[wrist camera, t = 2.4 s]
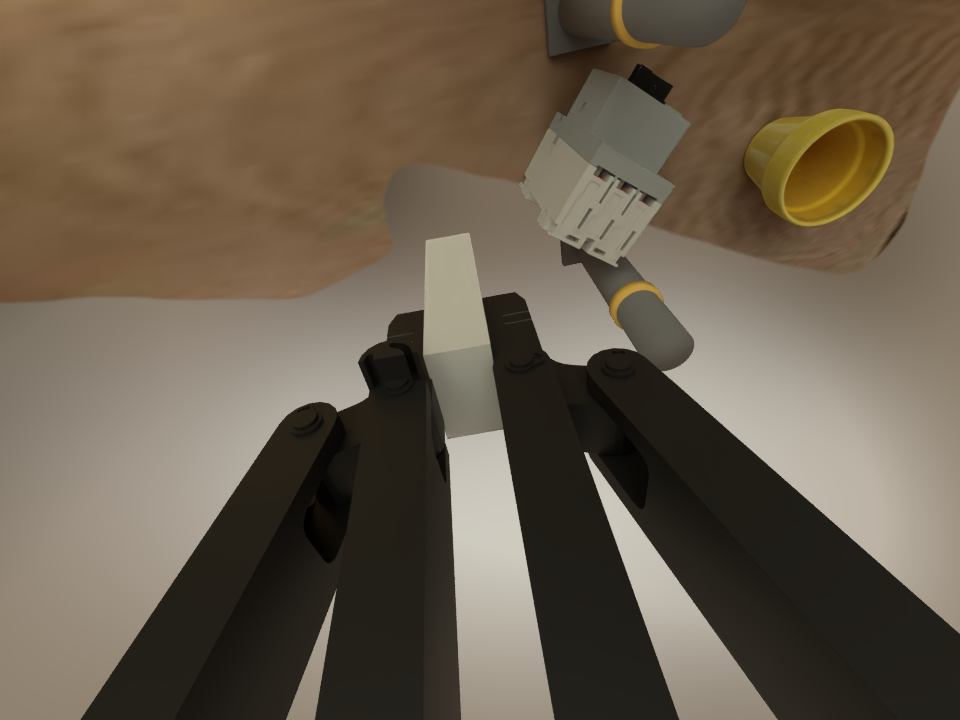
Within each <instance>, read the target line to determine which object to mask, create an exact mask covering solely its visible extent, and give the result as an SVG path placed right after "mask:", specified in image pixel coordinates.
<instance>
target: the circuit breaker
mask: <svg viewBox="0 0 960 720" xmlns="http://www.w3.org/2000/svg"><path fill="white" fill-rule="evenodd" d="M672 87H673V86H672V85H671V84H669V83H667V82H665V81H664V80H662V79H661V78H659V77H658V76H656V75H655V74H653V73H652V71H651V70H649V69H648V68H646V67H645V66H644V65H642V64H641V65H639V64H637V65H636V67H635V69H634V71H633V72H632V74H631V76H630V77H629V79H628V80H627V79H625V78H624V77H622V76H619V75H617V74H613V73H610V72H606V71H602V70H598V69H594V68H593V69H592V71H591V73H590V75H589V76H588V78H587V80H586V82H585V84H584V86H583V87H582V89H581V91H580V93H579V95H578V97H577V98H576V100H575V102H574V104H573V106H572V108H571V109H570V111H569V113H568V115H567V117H566V116H564V115H563V114H561V113H559V112H557V113H556V115H555V117H554V119H553V121H552V123H551V124H550V126H549V128H548V130H547V132H546V134H545V136H544V138H543V140H542V142H541V143H540V145H539V147H538V149H537V151H536V153H535V155H534V157H533V159H532V161H531V162H530V164H529V166H528V168H527V170H526V172H525V174H524V175H525V176H526V179H525V181H524V183H522V182H520V183H519V185H518V186H519V187H521V191H522V193H523V195H524V197H525V198H526V199H528V200H530V201H532V202H534V203H536V204H538V205H539V206H540V208H541V210H542V211H541V212H540V214H539V216H538V218H537V221H538V223H539V224H540V226H541V228H542V229H543V230H546V231H547V234H549V235H551V236H553V237H555V238H557V239H559V240H561V241H563V242H565V243H568V244H570V245H572V246H574V247H576V248H578V249H580V248H582V249H583V250H584V251H585V252H587V253H588V254H590V255H592V256H594V257H596V258H599V259H601V260H603V261H605V262H607V263H609V264H611V265H613V266H615V267H617V266H618V264H617V263H616V261H617V260H618V259H619V257H620V256H622V257H625V255H626V254H627V252H628V251H629V250H630V248H631V247H632V246H633V244H634V243H635V241H636V240H637V239H638V237H639V236H640V234H641V233H642V232H643V230H644V229H645V228H646V226H647V225H648V223H649V222H650V221H651V219H652V218H653V217H654V215H655V214H656V212H657V211H658V210H659V208H660V207H661V205H662V204H663V203H664V201H665V200H666V199H667V197H668V196H669V194H670V193H671V192H672V190H673V189H674V187H675V185H673V184H672V183H670V182H669V181H667V180H666V179H664V178H663V177H661V176H660V175H658V174H657V173H658V171H659V170H660V168H661V167H662V165H663V164H664V162H665V161H666V160H667V158H668V157H669V155H670V154H671V152H672V151H673V149H674V148H675V146H676V145H677V143H678V142H679V141H680V139H681V138H682V136H683V135H684V133H685V132H686V130H687V129H688V127H689V126H690V124H691V123H690V122H688V121H687V120H685V119H684V118H682V117H681V116H682V114H681V113H679V112H678V111H676V110H675V109H673V108H672V107H670V106H669V105H667V104H666V103H665V102H664V100H665V98H666V97H667V95H668V94H669V92H670V91H671V89H672ZM660 203H661V204H660Z"/></svg>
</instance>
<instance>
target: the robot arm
mask: <svg viewBox="0 0 960 720" xmlns="http://www.w3.org/2000/svg"><path fill="white" fill-rule="evenodd" d="M425 257H426V258H425V259H426V260H425V297H424V310H420V311H415V312H410V313H404V314H398V315H397V316H396V317H395V318H394V320H393V321H392V322H391V324H389V327H388V334H387V337H388V338H387V341H385V342H381V343H379V344H377V345H375V346H373V347H371V348H369V349H368V350H367V351H366V352H365V353H364V354H363V355H362V356H361V358H360V360H359V362H358V364H359V366H360V369H361V371H362V373H363V376H364V378H365V381H366V383H367V385H368V388H369V390H370V391H369V397H368V398H366V399H365V400H364V401H362V402H360V403H358V404H356V405H354V406H351V407H349V408H346V409H344V410H341V411H339V412H337V411H336V409H335V407H333V406H332V405H330V404H329V403H323V402H317V403H310V404H307V405H304V406H302V407H300V408H298V409H296V410H294V411H293V412H291V413H290V414H288V415H287V416H286V417H285V418H284V420H283V421H282V422H281V423H280V424H279V426H278V427H277V429H276V430H275V431H274V433H273V434H272V436H271V438H270V439H269V441H268V442H267V443H266V445H265V446H264V448H263V449H262V451H261V452H260V454H259V455H258V457H257V459H256V460H255V461H254V463H253V464H252V466H251V467H250V469H249V470H248V472H247V473H246V475H245V476H244V478H243V479H242V481H241V482H240V484H239V485H238V486H237V488H236V490H235V491H234V493H233V494H232V495H231V497H230V498H229V500H228V501H227V503H226V504H225V506H224V507H223V509H222V510H221V512H220V513H219V515H218V516H217V518H216V519H215V521H214V522H213V524H212V525H211V527H210V528H209V530H208V531H207V533H206V534H205V536H204V537H203V539H202V540H201V541H200V543H199V545H198V546H197V547H196V549H195V550H194V552H193V554H192V555H191V556H190V558H189V559H188V561H187V562H186V564H185V565H184V567H183V568H182V570H181V571H180V573H179V574H178V576H177V577H176V579H175V580H174V582H173V583H172V585H171V586H170V588H169V589H168V591H167V592H166V594H165V595H164V597H163V598H162V600H161V601H160V602H159V604H158V605H157V607H156V608H155V610H154V612H153V613H152V614H151V616H150V617H149V619H148V620H147V622H146V623H145V625H144V626H143V628H142V629H141V631H140V632H139V634H138V635H137V637H136V638H135V640H134V641H133V643H132V644H131V646H130V647H129V649H128V650H127V651H126V653H125V655H124V656H123V657H122V659H121V661H120V662H119V663H118V665H117V666H116V668H115V669H114V671H113V672H112V674H111V675H110V677H109V678H108V680H107V681H106V683H105V684H104V686H103V687H102V689H101V690H100V692H99V693H98V695H97V696H96V698H95V699H94V701H93V702H92V704H91V705H90V706H89V708H88V709H87V711H86V712H85V714H84V715H83V717H82V718H81V720H286V718H287V715H288V713H289V710H290V708H291V705H292V703H293V700H294V697H295V695H296V692H297V690H298V687H299V684H300V682H301V679H302V676H303V674H304V671H305V669H306V666H307V664H308V661H309V658H310V656H311V653H312V651H313V648H314V645H315V643H316V640H317V638H318V635H319V632H320V630H321V627H322V625H323V622H324V620H325V617H326V614H327V612H328V609H329V607H330V604H331V601H332V599H333V596H334V594H335V591H336V597H335V603H334V608H333V614H332V621H331V626H330V632H329V638H328V644H327V651H326V657H325V662H324V669H323V674H322V681H321V686H320V693H319V699H318V705H317V711H316V717H315V720H461V711H460V710H461V709H460V686H459V667H458V666H459V664H458V642H457V621H456V599H455V577H454V555H453V533H452V514H451V513H452V512H451V489H450V467H449V454H448V450H447V447H446V444H445V432H446V435H447V438H448V439H450V438H455V437H461V436H467V435H473V434H479V433H484V432H489V431H495V430H501V429H503V430H504V435H505V441H506V447H507V453H508V458H509V464H510V469H511V475H512V481H513V487H514V492H515V498H516V504H517V509H518V515H519V520H520V526H521V532H522V537H523V543H524V549H525V555H526V560H527V566H528V572H529V577H530V583H531V588H532V594H533V599H534V606H535V611H536V617H537V623H538V628H539V634H540V640H541V645H542V650H543V657H544V662H545V668H546V674H547V679H548V685H549V691H550V696H551V702H552V707H553V713H554V719H555V720H679V718H678V715H677V712H676V709H675V707H674V704H673V701H672V698H671V695H670V692H669V690H668V687H667V684H666V681H665V678H664V676H663V673H662V670H661V667H660V665H659V662H658V659H657V656H656V653H655V651H654V648H653V645H652V642H651V639H650V637H649V634H648V631H647V628H646V625H645V622H644V620H643V617H642V614H641V611H640V608H639V606H638V603H637V600H636V597H635V594H634V592H633V589H632V586H631V583H630V580H629V578H628V575H627V572H626V569H625V566H624V564H623V561H622V558H621V555H620V552H619V550H618V547H617V544H616V541H615V538H614V536H613V533H612V530H611V527H610V525H609V522H608V519H607V516H606V513H605V510H604V508H603V505H602V502H601V499H600V496H599V494H598V491H597V488H596V485H595V483H594V479H593V477H592V474H591V471H590V469H589V465H588V463H587V460H586V457H585V454H584V452H588V453H589V455H590V458H591V459H592V461H593V462H594V464H595V465H596V466H597V468H598V469H599V471H600V472H601V473H602V475H603V476H604V477H605V479H606V480H607V482H608V483H609V485H610V486H611V487H612V488H613V490H614V492H615V493H616V494H617V496H618V497H619V498H620V500H621V501H622V503H623V504H624V505H625V507H626V508H627V510H628V511H629V512H630V514H631V515H632V517H633V518H634V519H635V521H636V522H637V524H638V525H639V526H640V528H641V529H642V531H643V532H644V533H645V535H646V536H647V538H648V539H649V540H650V542H651V543H652V544H653V546H654V547H655V549H656V550H657V551H658V553H659V554H660V556H661V557H662V558H663V560H664V561H665V563H666V564H667V565H668V567H669V568H670V570H671V571H672V573H673V574H674V575H675V577H676V578H677V580H678V581H679V582H680V584H681V585H682V586H683V588H684V589H685V591H686V592H687V593H688V595H689V596H690V598H691V599H692V600H693V602H694V603H695V605H696V606H697V607H698V609H699V610H700V612H701V613H702V614H703V616H704V617H705V618H706V620H707V621H708V623H709V624H710V626H711V627H712V628H713V630H714V631H715V633H716V634H717V635H718V637H719V638H720V639H721V641H722V642H723V644H724V645H725V646H726V648H727V649H728V651H729V652H730V654H731V655H732V656H733V658H734V659H735V661H736V662H737V663H738V664H739V666H740V667H741V669H742V670H743V672H744V673H745V674H746V676H747V677H748V679H749V680H750V681H751V683H752V684H753V685H754V687H755V688H756V690H757V691H758V693H759V694H760V695H761V697H762V698H763V700H764V701H765V702H766V704H767V705H768V706H769V708H770V709H771V711H772V712H773V713H774V715H775V716H776V718H777V719H778V720H960V634H959V633H958V632H957V631H956V630H954V629H953V628H952V627H951V626H950V625H949V624H948V623H946V622H945V621H944V620H943V619H942V618H941V617H940V616H939V615H938V614H936V613H935V612H934V611H933V610H932V609H931V608H930V607H928V606H927V605H926V604H925V603H924V602H923V601H922V600H920V599H919V598H918V597H917V596H916V595H915V594H914V593H913V592H911V591H910V590H909V589H908V588H907V587H906V586H905V585H903V584H902V583H901V582H900V581H899V580H898V579H897V578H896V577H894V576H893V575H892V574H891V573H890V572H889V571H888V570H886V569H885V568H884V567H883V566H882V565H881V564H880V563H878V562H877V561H876V560H875V559H874V558H873V557H872V556H871V555H869V554H868V553H867V552H866V551H865V550H864V549H863V548H861V547H860V546H859V545H858V544H857V543H856V542H855V541H853V540H852V539H851V538H850V537H849V536H848V535H847V534H845V533H844V532H843V531H842V530H841V529H840V528H839V527H838V526H836V525H835V524H834V523H833V522H832V521H831V520H829V518H827V517H826V516H825V515H824V514H823V513H822V512H820V511H819V510H818V509H817V508H816V507H815V506H814V505H813V504H811V503H810V502H809V501H808V500H807V499H806V498H805V497H803V496H802V495H801V494H800V493H799V492H798V491H797V490H796V489H794V488H793V487H792V486H791V485H790V484H789V483H788V482H786V481H785V480H784V479H783V478H782V477H781V476H780V475H779V474H777V473H776V472H775V471H774V470H773V469H772V468H771V467H769V466H768V465H767V464H766V463H765V462H764V461H763V460H761V459H760V458H759V457H758V456H757V455H756V454H755V453H754V452H752V451H751V450H750V449H749V448H748V447H747V446H746V445H744V444H743V443H742V442H741V441H740V440H738V438H736V437H735V436H734V435H733V434H732V433H731V432H730V431H729V430H727V429H726V428H725V427H724V426H723V425H722V424H721V423H719V422H718V421H717V420H716V419H715V418H714V417H713V416H712V415H710V414H709V413H708V412H707V411H706V410H704V408H702V407H701V406H700V405H699V404H698V403H697V402H696V401H694V400H693V399H692V398H691V397H690V396H689V395H688V394H687V393H685V392H684V391H683V390H682V389H681V388H680V387H679V386H678V385H676V384H675V383H674V382H673V381H672V380H671V379H669V378H668V377H667V376H666V375H665V374H664V373H662V371H660V370H659V369H658V368H657V367H656V366H655V365H654V364H653V363H651V362H650V361H649V360H648V359H647V358H646V357H644V356H642V355H641V354H639V353H638V352H635V351H631V350H628V349H617V348H612V349H608V350H603V351H600V352H598V353H596V354H594V355H593V356H592V357H591V358H590V359H589V361H588V363H587V366H581V365H580V366H579V365H568V364H562V363H559V362H556V361H554V360H552V359H550V357H549V356H548V355H547V353H546V352H545V351H543V350H542V348H541V345H540V342H539V339H538V336H537V333H536V330H535V327H534V324H533V322H532V320H531V316H530V313H529V311H528V307H527V304H526V301H525V299H523V298H522V297H521V296H519V295H518V294H517V293H515V292H513V293H507V294H502V295H496V296H491V297H485V298H482V297H481V292H480V287H479V282H478V276H477V271H476V265H475V260H474V255H473V250H472V244H471V239H470V233H464V234H459V235H453V236H448V237H442V238H437V239H432V240H426V256H425ZM444 428H445V429H444ZM336 589H337V590H336Z"/></svg>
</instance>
